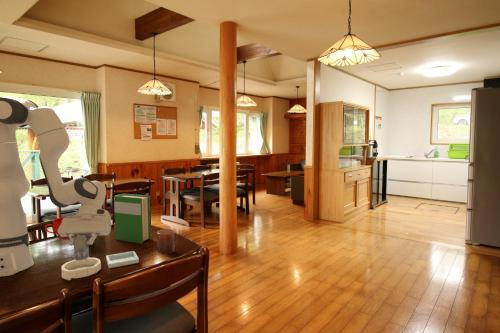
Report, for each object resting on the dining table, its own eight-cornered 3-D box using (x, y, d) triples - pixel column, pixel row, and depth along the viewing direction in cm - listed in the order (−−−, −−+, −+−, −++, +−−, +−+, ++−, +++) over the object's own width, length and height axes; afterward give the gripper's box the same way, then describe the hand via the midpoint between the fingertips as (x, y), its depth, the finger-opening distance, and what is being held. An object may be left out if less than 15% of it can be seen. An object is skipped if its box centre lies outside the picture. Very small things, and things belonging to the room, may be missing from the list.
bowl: (61, 283, 120) (61, 274, 120) (62, 269, 132) (61, 261, 132) (102, 275, 127) (101, 266, 126) (99, 263, 139) (98, 255, 139)
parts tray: (109, 269, 132) (108, 264, 132) (106, 261, 141) (106, 255, 141) (138, 264, 138) (138, 258, 138) (134, 256, 147) (134, 250, 147)
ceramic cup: (42, 238, 173) (41, 220, 172) (76, 231, 185) (75, 215, 184) (49, 244, 164) (47, 225, 163) (83, 236, 176) (83, 219, 175)
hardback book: (151, 239, 172) (149, 195, 170) (141, 243, 165) (140, 198, 163) (125, 235, 178) (124, 193, 176) (115, 239, 171) (114, 195, 169)
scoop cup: (74, 261, 125) (73, 237, 124) (74, 256, 130) (73, 234, 129) (89, 258, 128) (88, 235, 127) (88, 254, 132) (87, 232, 132)
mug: (179, 252, 152) (178, 231, 151) (163, 257, 146) (162, 235, 145) (166, 246, 161) (165, 226, 160) (150, 250, 154) (149, 230, 154)
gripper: (61, 212, 133) (50, 242, 124) (111, 210, 135) (103, 240, 126) (66, 219, 138) (56, 249, 129) (115, 218, 140) (108, 247, 131)
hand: (80, 244), depth 128 cm, fingers closed on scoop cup, 5 cm apart
